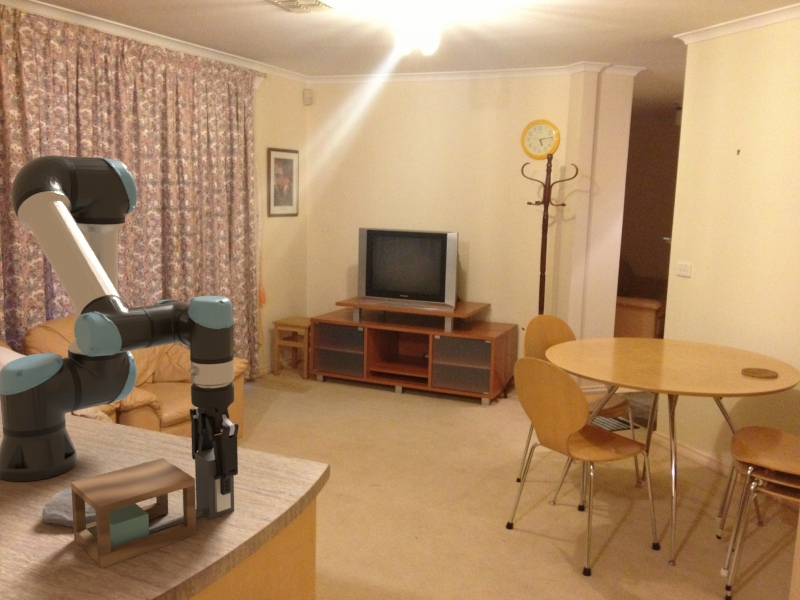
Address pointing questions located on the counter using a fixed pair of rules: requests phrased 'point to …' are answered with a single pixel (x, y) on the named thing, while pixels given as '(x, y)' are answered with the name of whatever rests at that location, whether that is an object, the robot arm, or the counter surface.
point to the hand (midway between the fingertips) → (215, 503)
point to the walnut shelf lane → (125, 491)
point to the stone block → (64, 509)
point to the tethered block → (135, 521)
